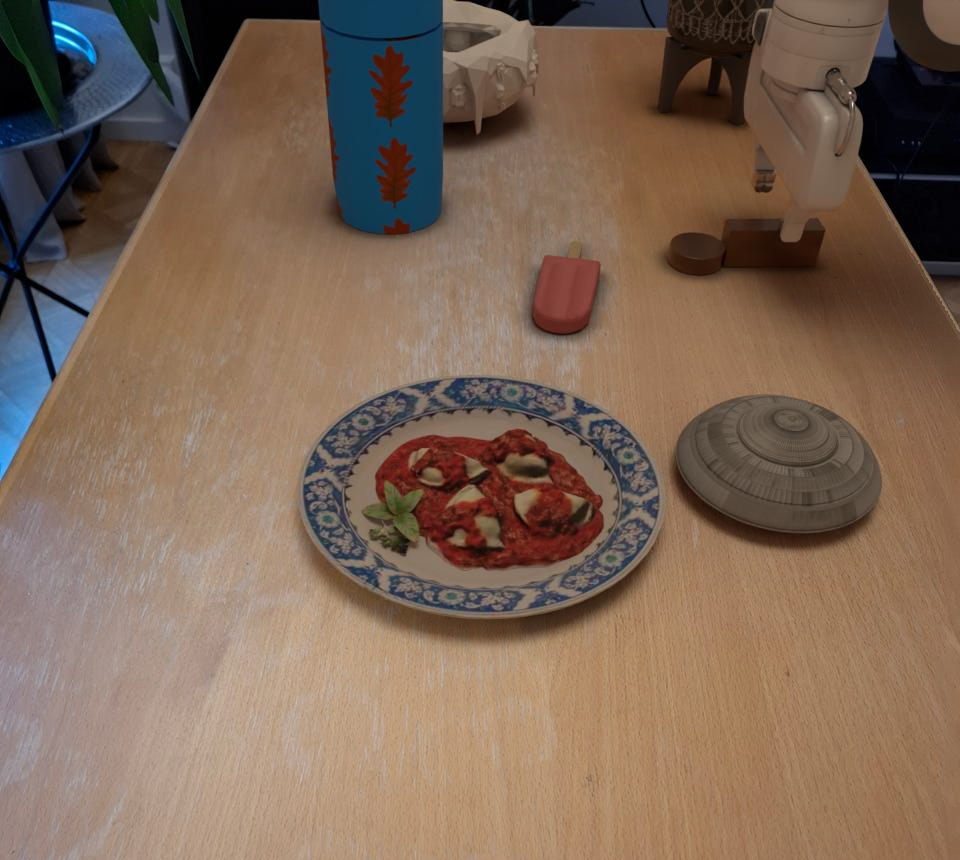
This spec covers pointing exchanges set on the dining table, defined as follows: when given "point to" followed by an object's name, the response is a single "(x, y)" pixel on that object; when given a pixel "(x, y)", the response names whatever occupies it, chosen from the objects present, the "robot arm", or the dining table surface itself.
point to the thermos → (385, 110)
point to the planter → (710, 46)
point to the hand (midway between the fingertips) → (773, 213)
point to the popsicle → (565, 291)
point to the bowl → (484, 61)
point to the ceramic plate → (481, 496)
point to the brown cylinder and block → (745, 247)
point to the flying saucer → (779, 464)
